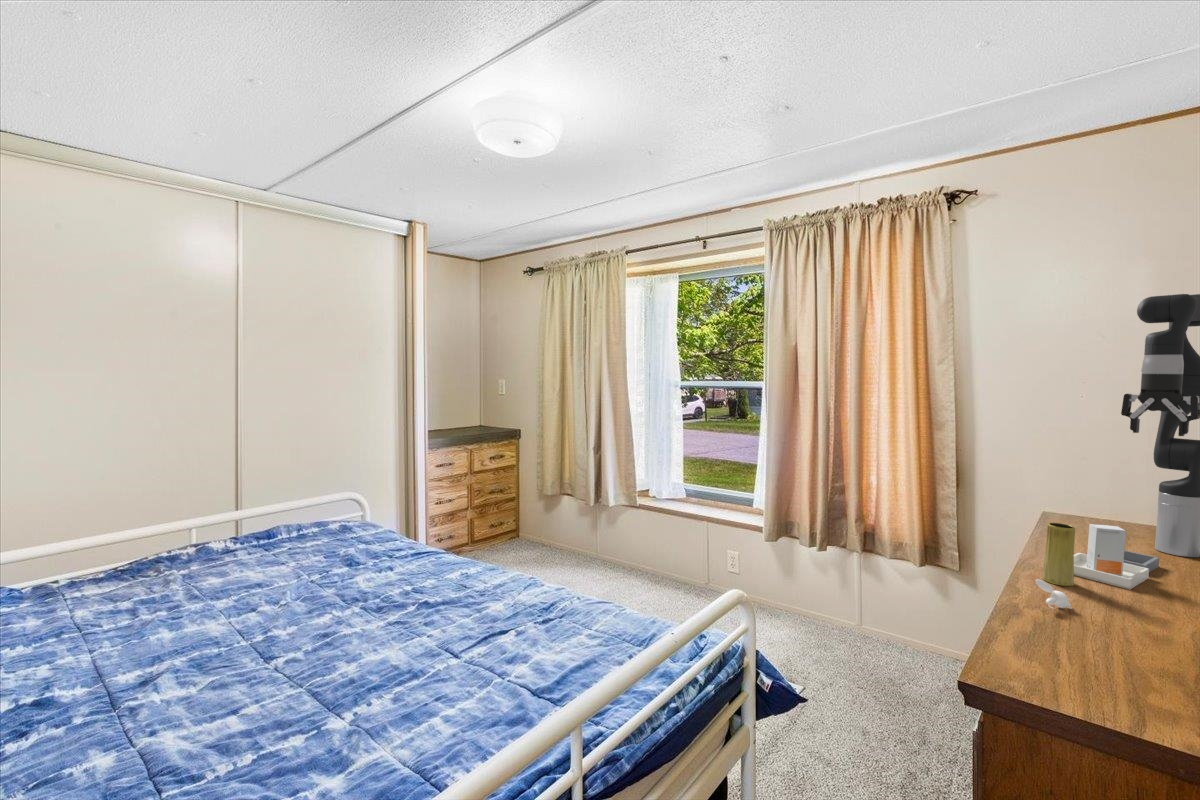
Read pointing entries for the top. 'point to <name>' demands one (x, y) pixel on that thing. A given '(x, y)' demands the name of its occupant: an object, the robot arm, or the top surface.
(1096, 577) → the tray
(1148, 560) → the frame
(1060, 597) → the rabbit figurine
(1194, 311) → the robot arm
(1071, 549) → the vase
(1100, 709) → the top surface
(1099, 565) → the skincare box
